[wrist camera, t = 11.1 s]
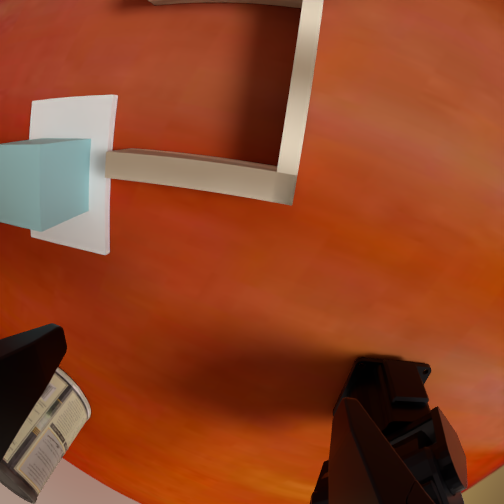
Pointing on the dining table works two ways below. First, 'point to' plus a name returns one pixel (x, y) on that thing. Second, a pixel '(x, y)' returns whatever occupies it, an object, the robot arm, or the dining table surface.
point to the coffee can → (44, 437)
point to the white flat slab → (101, 134)
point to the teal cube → (44, 181)
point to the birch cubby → (230, 170)
